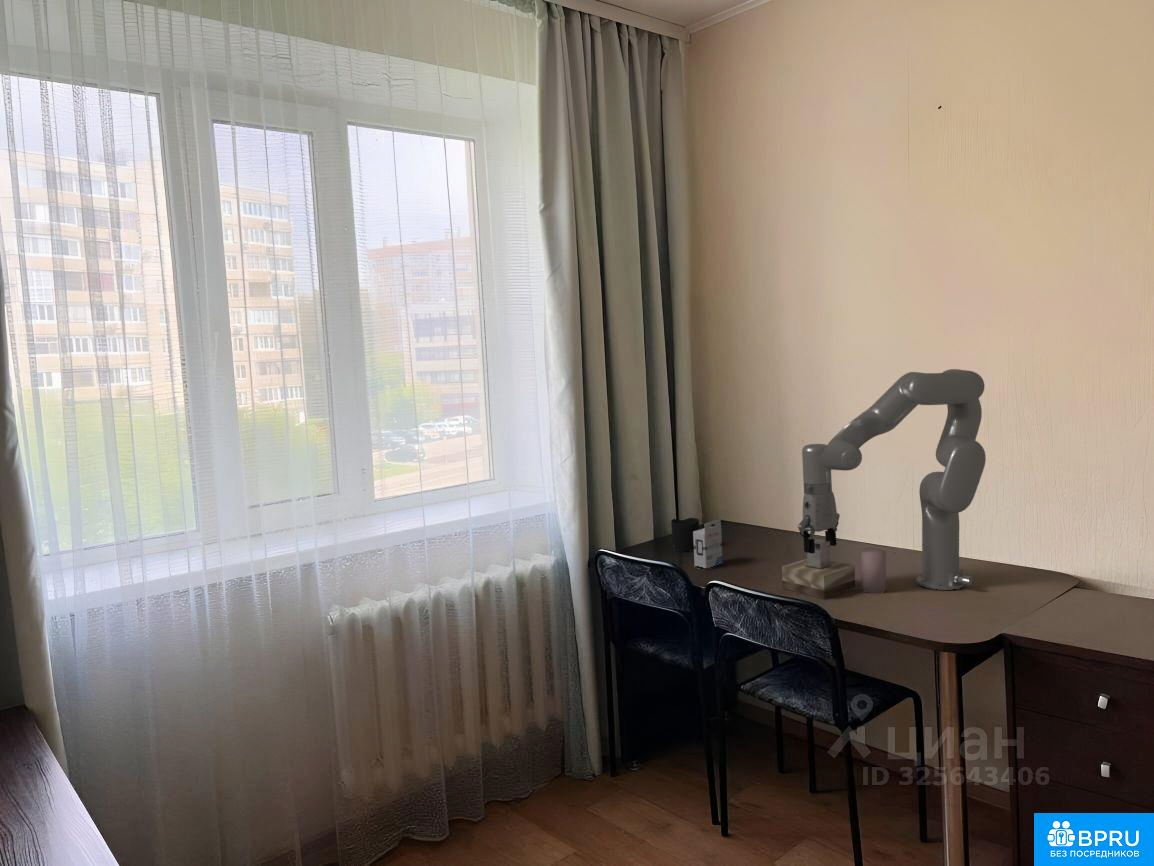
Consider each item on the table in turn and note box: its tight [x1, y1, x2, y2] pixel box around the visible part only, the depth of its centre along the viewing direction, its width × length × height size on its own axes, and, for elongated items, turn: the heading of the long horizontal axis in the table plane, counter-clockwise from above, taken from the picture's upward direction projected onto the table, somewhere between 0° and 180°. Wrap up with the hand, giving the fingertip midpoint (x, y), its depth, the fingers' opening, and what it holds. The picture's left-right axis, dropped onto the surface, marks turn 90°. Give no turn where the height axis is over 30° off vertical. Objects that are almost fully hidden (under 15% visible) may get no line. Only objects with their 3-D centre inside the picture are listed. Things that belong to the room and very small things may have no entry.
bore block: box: [781, 558, 856, 600], centre depth 237 cm, size 14×14×6 cm
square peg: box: [806, 538, 831, 570], centre depth 237 cm, size 4×4×11 cm
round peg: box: [860, 547, 887, 594], centre depth 233 cm, size 6×6×11 cm
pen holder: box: [670, 517, 700, 551], centre depth 287 cm, size 9×9×10 cm
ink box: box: [693, 518, 723, 569], centre depth 265 cm, size 8×5×15 cm, turn 133°
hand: (820, 548), depth 236 cm, fingers open, 9 cm apart
